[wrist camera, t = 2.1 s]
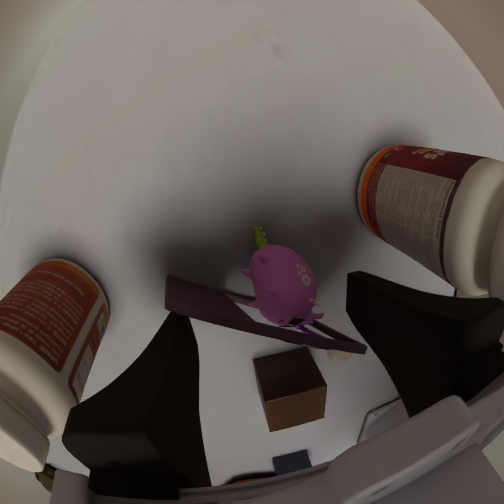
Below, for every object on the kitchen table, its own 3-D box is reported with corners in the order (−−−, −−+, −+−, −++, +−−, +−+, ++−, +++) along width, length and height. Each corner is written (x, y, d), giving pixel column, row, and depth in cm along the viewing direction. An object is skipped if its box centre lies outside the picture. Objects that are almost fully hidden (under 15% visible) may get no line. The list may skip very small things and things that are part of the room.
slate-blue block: (305, 449, 26) (315, 476, 22) (305, 461, 27) (314, 485, 24) (272, 458, 25) (279, 485, 22) (274, 469, 27) (281, 494, 23)
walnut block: (307, 346, 19) (327, 385, 15) (307, 381, 21) (324, 417, 17) (252, 359, 19) (264, 401, 15) (259, 393, 20) (269, 432, 16)
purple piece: (159, 330, 9) (361, 369, 11) (207, 181, 9) (396, 262, 12) (162, 292, 15) (298, 330, 18) (190, 205, 15) (323, 254, 18)
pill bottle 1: (17, 269, 13) (-80, 379, 3) (84, 242, 14) (-32, 381, 3) (59, 345, 16) (7, 470, 6) (127, 330, 16) (90, 490, 6)
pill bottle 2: (428, 151, 15) (574, 188, 5) (418, 237, 17) (542, 314, 7) (356, 137, 14) (542, 162, 4) (348, 239, 16) (490, 352, 6)
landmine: (28, 468, 19) (122, 511, 22) (32, 456, 21) (124, 497, 25) (38, 487, 22) (112, 520, 26) (41, 477, 25) (114, 509, 28)
